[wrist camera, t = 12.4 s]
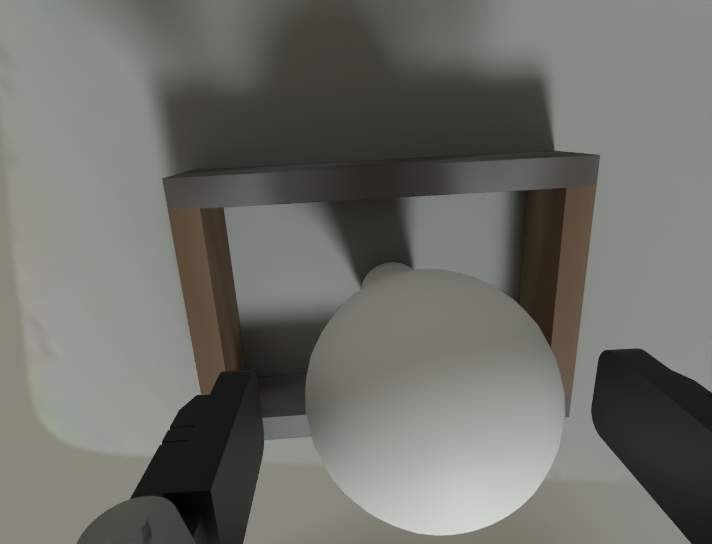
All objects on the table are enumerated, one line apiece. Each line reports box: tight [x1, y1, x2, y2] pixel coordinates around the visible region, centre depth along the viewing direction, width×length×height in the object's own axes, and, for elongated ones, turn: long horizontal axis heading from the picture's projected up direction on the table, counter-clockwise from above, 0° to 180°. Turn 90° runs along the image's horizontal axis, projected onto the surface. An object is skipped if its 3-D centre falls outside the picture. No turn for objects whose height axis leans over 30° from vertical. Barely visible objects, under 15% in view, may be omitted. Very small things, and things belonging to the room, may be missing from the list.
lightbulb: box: [305, 262, 565, 535], centre depth 13 cm, size 6×6×11 cm
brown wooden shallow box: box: [163, 151, 600, 440], centre depth 17 cm, size 14×10×3 cm
